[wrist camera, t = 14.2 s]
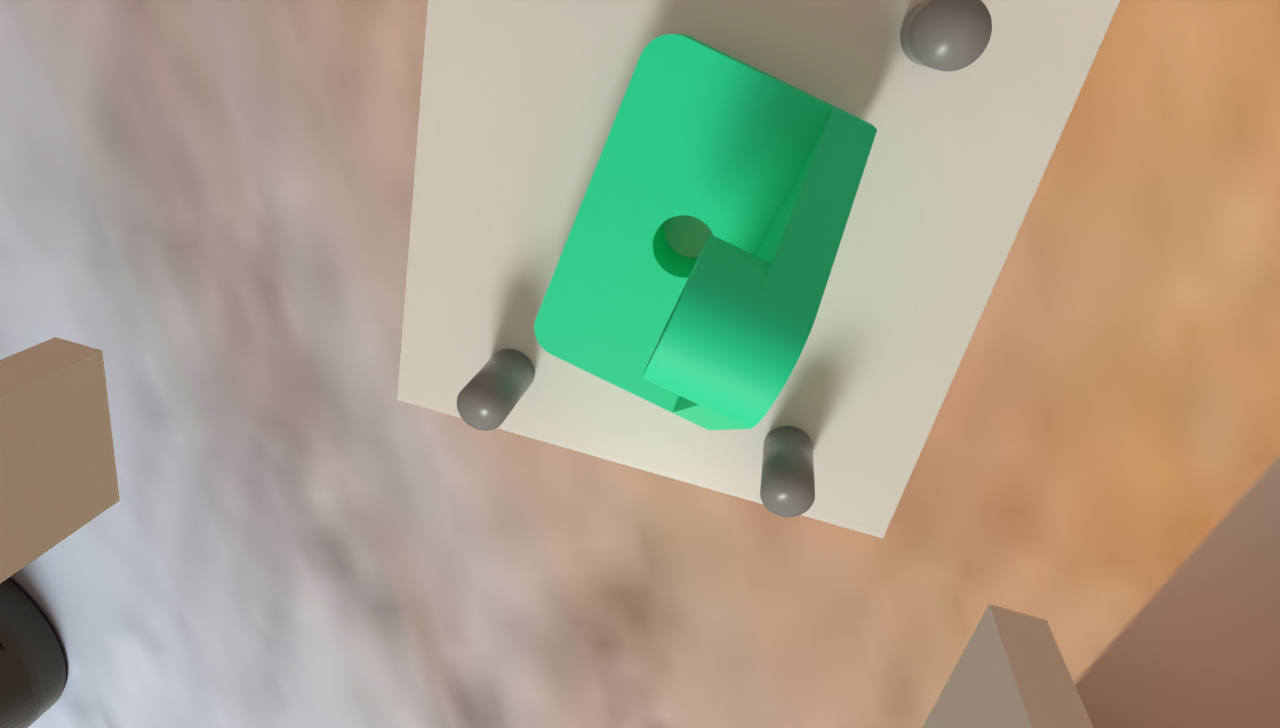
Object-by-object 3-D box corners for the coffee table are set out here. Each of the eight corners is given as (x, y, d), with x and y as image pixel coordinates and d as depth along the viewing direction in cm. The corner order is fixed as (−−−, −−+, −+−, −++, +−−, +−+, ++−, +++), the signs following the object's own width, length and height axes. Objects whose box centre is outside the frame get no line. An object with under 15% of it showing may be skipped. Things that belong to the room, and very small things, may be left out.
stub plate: (412, 385, 35) (356, 437, 31) (461, -177, 26) (390, -221, 21) (879, 517, 33) (892, 593, 29) (1117, -33, 24) (1192, -48, 19)
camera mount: (666, 22, 26) (594, 17, 16) (869, 120, 26) (912, 171, 16) (546, 318, 31) (440, 442, 22) (715, 399, 31) (681, 557, 22)
